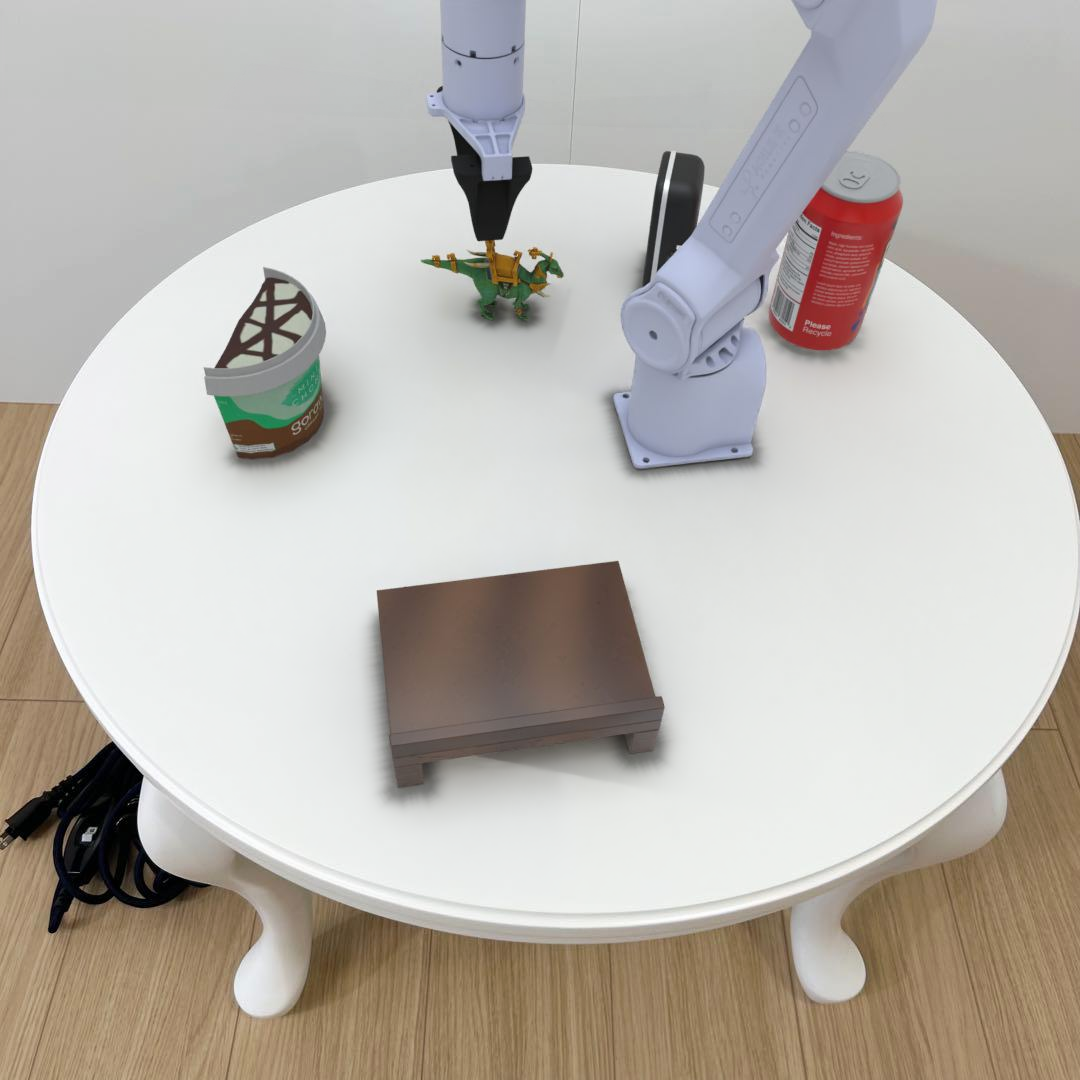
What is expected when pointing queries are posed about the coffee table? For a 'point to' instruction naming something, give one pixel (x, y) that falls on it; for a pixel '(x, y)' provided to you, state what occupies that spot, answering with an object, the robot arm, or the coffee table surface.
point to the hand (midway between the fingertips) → (482, 207)
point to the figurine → (502, 275)
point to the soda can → (836, 254)
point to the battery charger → (673, 208)
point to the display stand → (513, 665)
